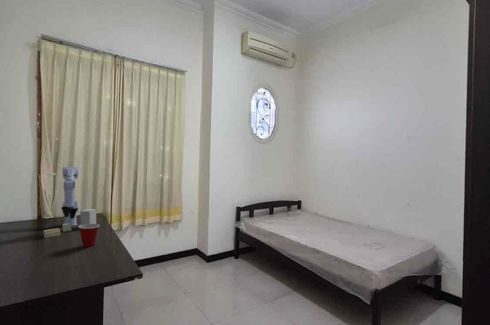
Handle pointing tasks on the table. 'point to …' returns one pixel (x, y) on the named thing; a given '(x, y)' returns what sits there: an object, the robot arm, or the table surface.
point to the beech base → (51, 233)
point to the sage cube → (67, 227)
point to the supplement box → (88, 216)
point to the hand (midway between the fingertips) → (69, 217)
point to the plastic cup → (88, 234)
